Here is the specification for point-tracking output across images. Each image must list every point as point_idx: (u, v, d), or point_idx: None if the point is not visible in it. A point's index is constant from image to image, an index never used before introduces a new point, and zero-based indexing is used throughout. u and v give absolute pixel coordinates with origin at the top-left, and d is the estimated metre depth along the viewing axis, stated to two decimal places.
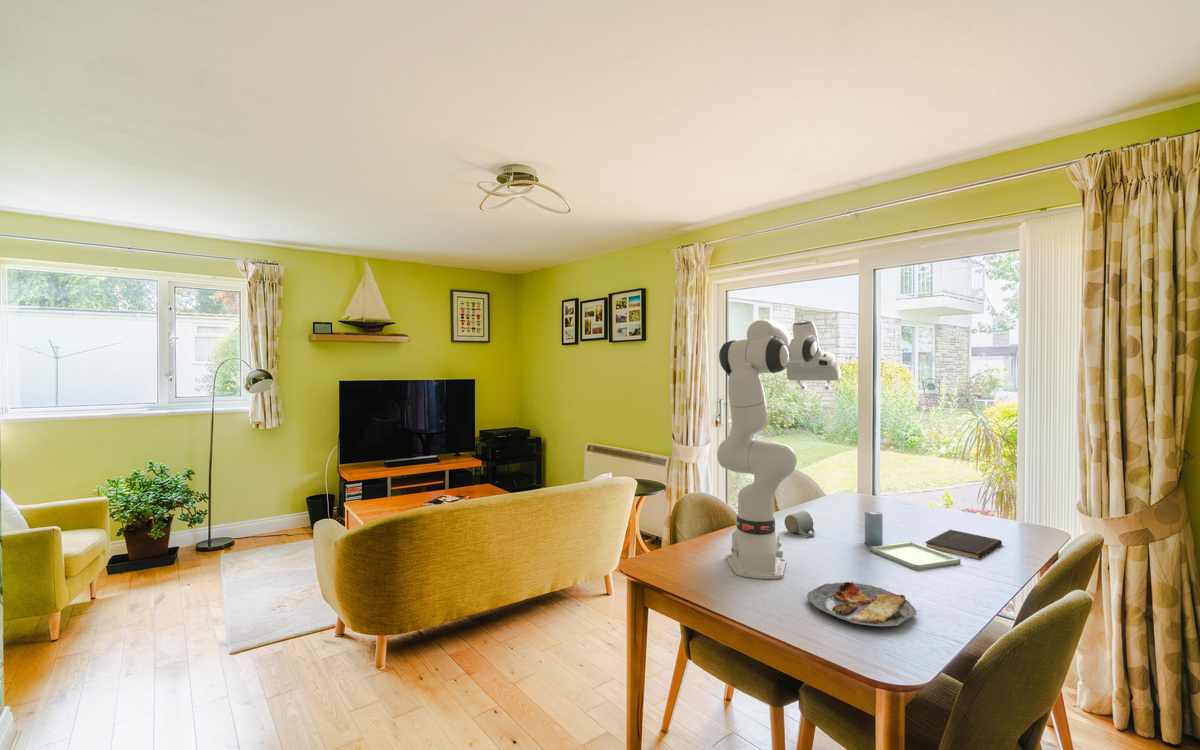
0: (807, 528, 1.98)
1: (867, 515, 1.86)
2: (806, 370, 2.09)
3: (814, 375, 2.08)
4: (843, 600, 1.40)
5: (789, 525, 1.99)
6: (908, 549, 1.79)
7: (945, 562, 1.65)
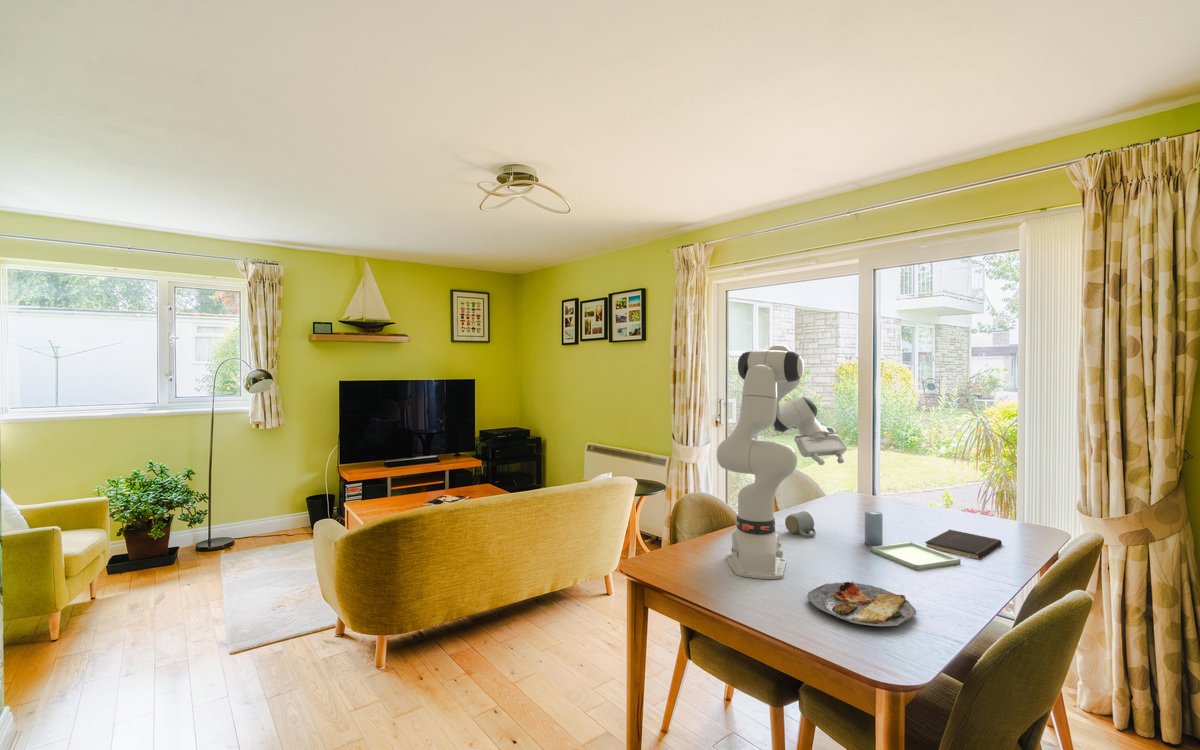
0: (808, 528, 1.98)
1: (867, 515, 1.86)
2: (818, 441, 2.06)
3: (827, 445, 2.06)
4: (843, 600, 1.40)
5: (790, 525, 1.99)
6: (908, 549, 1.79)
7: (945, 562, 1.65)
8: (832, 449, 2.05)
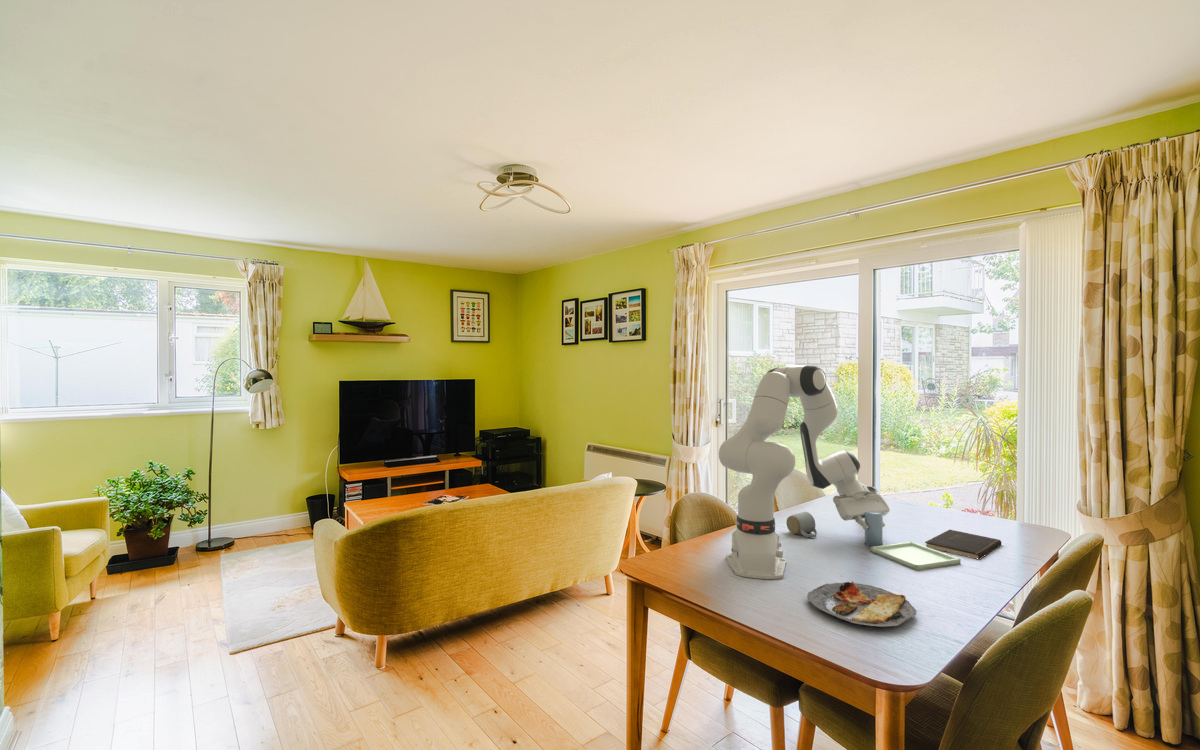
0: (809, 529, 1.97)
1: (867, 515, 1.86)
2: (859, 503, 1.91)
3: (869, 507, 1.90)
4: (843, 600, 1.40)
5: (791, 525, 1.98)
6: (908, 549, 1.79)
7: (945, 562, 1.65)
8: None
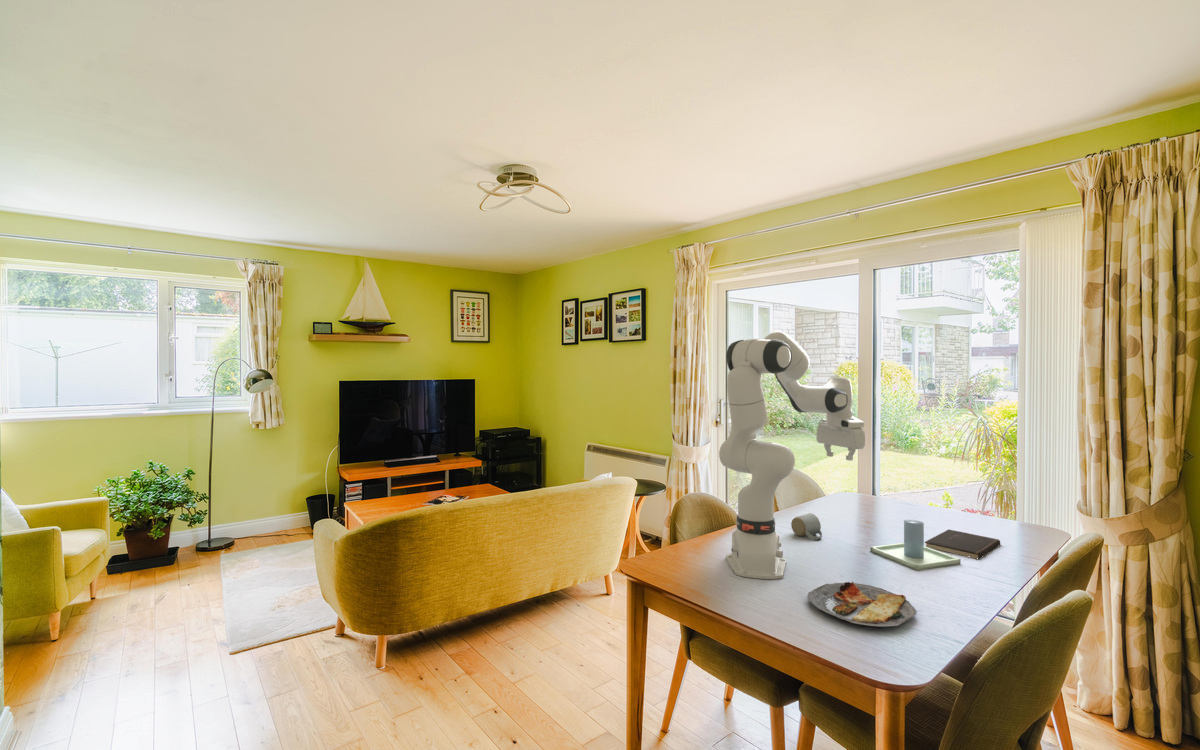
0: (814, 531, 1.95)
1: (907, 524, 1.72)
2: (832, 432, 1.96)
3: (838, 440, 1.93)
4: (843, 600, 1.40)
5: (796, 527, 1.96)
6: None
7: (945, 562, 1.65)
8: (840, 445, 1.92)
